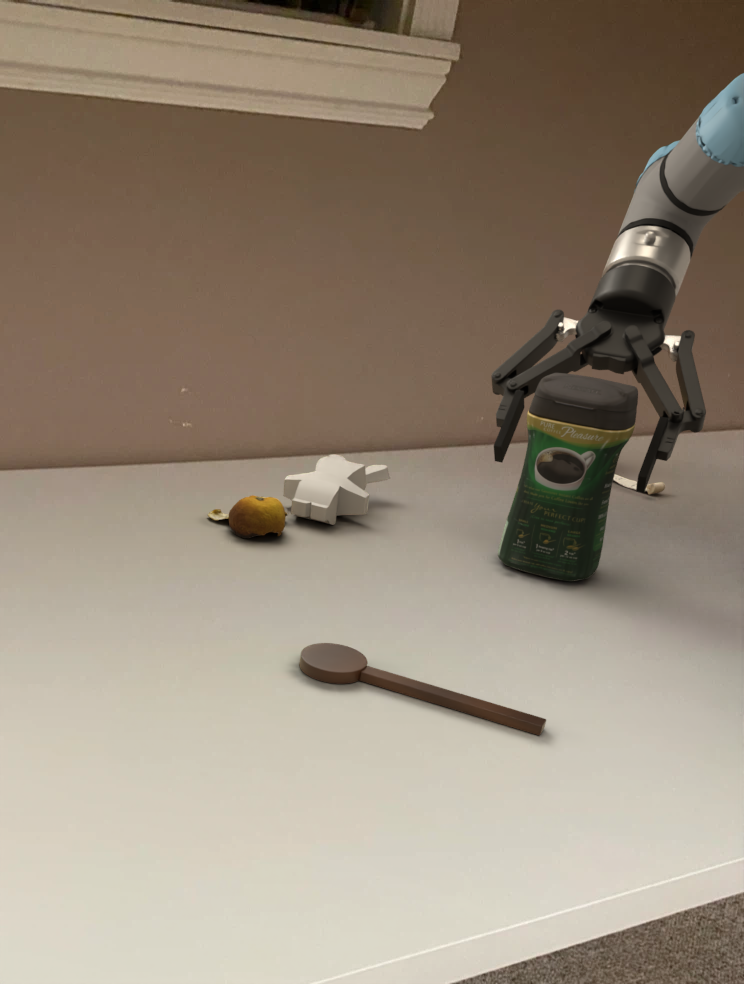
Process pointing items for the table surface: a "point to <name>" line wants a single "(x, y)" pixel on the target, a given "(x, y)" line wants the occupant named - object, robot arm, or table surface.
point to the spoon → (405, 685)
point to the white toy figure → (332, 489)
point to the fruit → (254, 516)
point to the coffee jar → (567, 475)
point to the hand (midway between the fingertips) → (567, 469)
